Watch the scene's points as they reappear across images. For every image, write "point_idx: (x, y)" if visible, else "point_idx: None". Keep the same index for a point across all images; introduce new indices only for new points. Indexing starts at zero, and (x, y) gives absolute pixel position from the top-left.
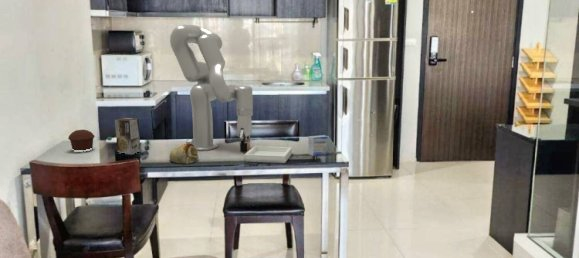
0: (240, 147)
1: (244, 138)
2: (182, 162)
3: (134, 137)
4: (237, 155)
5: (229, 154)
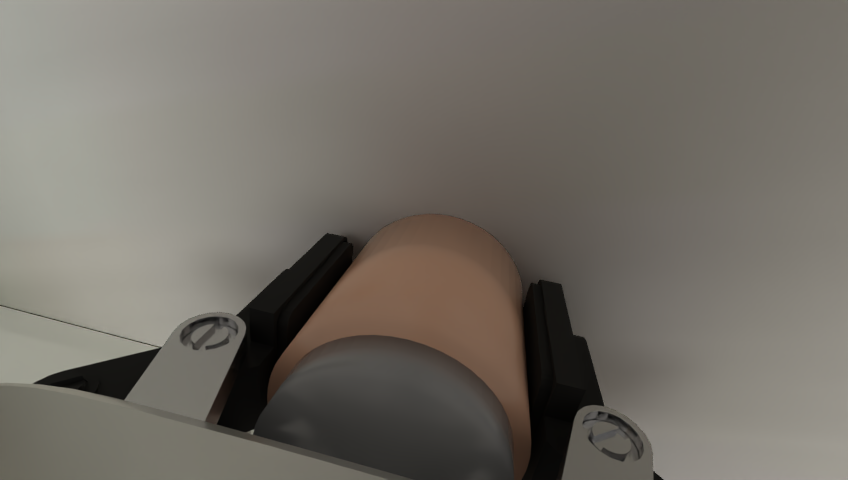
0: (299, 263)
1: (415, 472)
2: None
3: None
4: (142, 194)
5: (163, 52)
